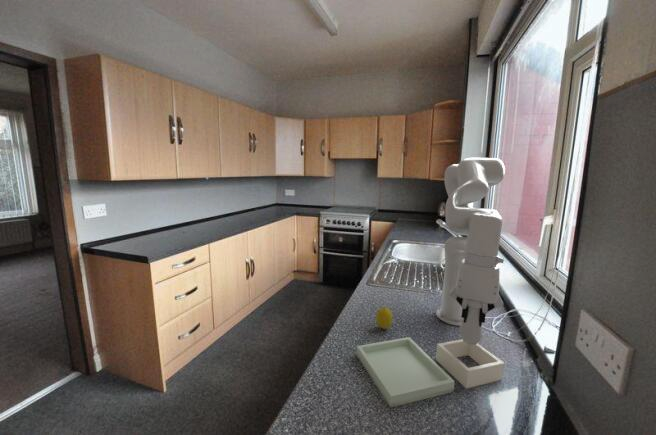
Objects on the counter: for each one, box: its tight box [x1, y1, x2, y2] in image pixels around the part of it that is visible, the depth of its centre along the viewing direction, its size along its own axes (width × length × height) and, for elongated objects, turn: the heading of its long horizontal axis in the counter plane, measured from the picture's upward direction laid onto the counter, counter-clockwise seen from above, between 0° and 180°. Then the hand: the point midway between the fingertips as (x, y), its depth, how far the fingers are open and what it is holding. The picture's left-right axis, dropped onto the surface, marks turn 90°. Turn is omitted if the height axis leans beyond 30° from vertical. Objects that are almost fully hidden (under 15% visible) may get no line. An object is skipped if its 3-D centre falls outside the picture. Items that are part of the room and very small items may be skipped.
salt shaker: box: [459, 299, 483, 345], centre depth 79 cm, size 6×6×13 cm
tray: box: [356, 336, 456, 408], centre depth 79 cm, size 18×20×3 cm
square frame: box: [435, 339, 505, 389], centre depth 81 cm, size 12×12×5 cm
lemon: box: [375, 307, 393, 330], centre depth 100 cm, size 6×6×8 cm
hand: (472, 321), depth 79 cm, fingers closed on salt shaker, 3 cm apart
